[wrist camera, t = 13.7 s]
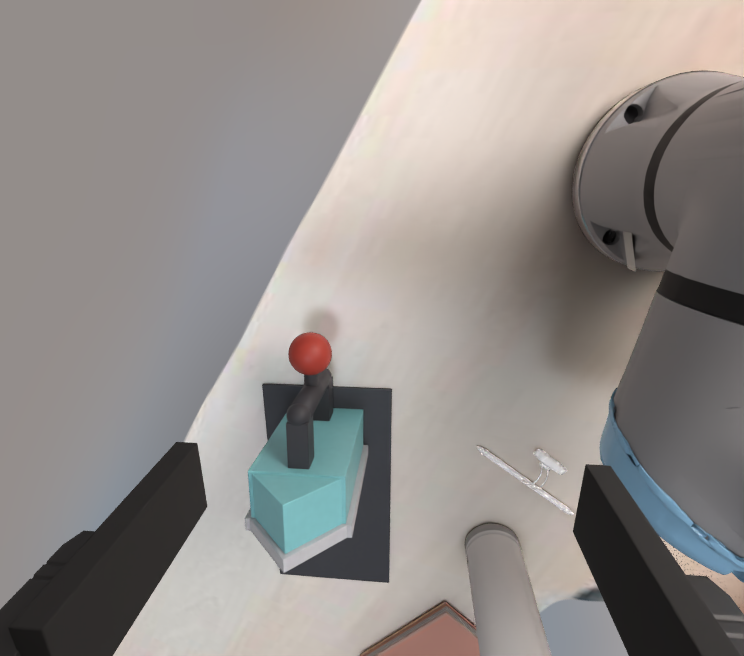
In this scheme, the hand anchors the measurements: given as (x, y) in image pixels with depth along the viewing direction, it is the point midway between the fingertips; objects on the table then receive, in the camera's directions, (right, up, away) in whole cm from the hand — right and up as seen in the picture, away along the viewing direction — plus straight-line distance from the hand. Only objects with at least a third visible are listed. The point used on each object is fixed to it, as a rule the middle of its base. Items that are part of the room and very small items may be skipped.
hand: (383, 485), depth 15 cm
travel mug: (+14, -20, +36) cm, 44 cm away
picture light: (+18, -10, +32) cm, 38 cm away
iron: (-6, -11, +25) cm, 28 cm away
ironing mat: (-5, -14, +36) cm, 39 cm away
